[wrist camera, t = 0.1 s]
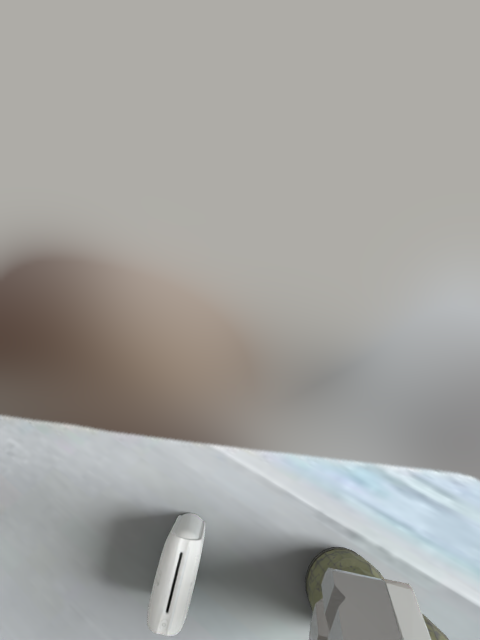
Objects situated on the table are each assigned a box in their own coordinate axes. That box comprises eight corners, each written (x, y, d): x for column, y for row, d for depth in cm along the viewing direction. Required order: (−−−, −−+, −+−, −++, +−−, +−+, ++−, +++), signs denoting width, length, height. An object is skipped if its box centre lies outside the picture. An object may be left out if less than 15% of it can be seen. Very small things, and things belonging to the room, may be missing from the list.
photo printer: (189, 603, 57) (180, 650, 45) (156, 594, 57) (137, 639, 45) (209, 516, 60) (206, 539, 48) (177, 508, 60) (165, 529, 48)
